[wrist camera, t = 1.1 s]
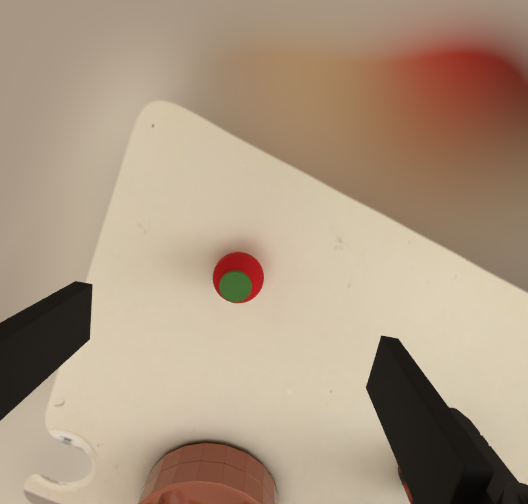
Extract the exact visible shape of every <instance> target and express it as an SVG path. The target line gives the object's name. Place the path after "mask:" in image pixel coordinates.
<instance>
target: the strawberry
mask: <svg viewBox="0 0 528 504" xmlns="http://www.w3.org/2000/svg"><path fill="white" fill-rule="evenodd" d="M263 281H264V274H263V270H262V267H261V265H260V264H259V262H258V261H257V260H256V259H255V258H254V257H252V256H251V255H249V254H246V253H242V252H235V253H231V254H228V255H226V256H225V257H223V258H222V259H221V260H220V261H219V262H218V263H217V265H216V267H215V269H214V272H213V283H214V287H215V289H216V291H217V292H218V294H219V295H220V296H221V297H222V298H224V299H225V300H227V301H229V302H233V303H244V302H247V301H249V300H251V299H253V298H254V297H255V296H256V295H257V294H258V293H259V292H260V290H261V288H262V285H263Z"/></svg>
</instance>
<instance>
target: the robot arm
mask: <svg viewBox="0 0 528 504" xmlns="http://www.w3.org/2000/svg"><path fill="white" fill-rule="evenodd" d="M91 304H92V284H88V283H82V282H77V281H75V282H73V283H71V284H70V285H68V286H66V287H64V288H62V289H60V290H59V291H57V292H55V293H53V294H51V295H50V296H48V297H46V298H44V299H42V300H41V301H39V302H37V303H35V304H33V305H32V306H30V307H28V308H26V309H25V310H22V311H21V312H19V313H17V314H16V315H14V316H12V317H10V318H8V319H6V320H5V321H3V322H1V323H0V420H1V419H3V418H4V417H5V416H6V415H7V414H8V413H9V412H10V411H11V410H13V409H14V408H15V407H16V406H17V405H18V404H19V403H20V402H21V401H22V400H23V399H25V398H26V397H27V396H28V395H29V394H30V393H31V392H32V391H33V390H34V389H36V388H37V387H38V386H39V385H40V384H41V383H42V382H43V381H44V380H45V379H47V378H48V377H49V376H50V375H51V374H52V373H53V372H54V371H55V370H57V369H58V368H59V367H60V366H61V365H62V364H63V363H64V362H65V361H66V360H68V359H69V358H70V357H71V356H72V355H73V354H74V353H75V352H76V351H77V350H79V349H80V348H81V347H82V346H83V345H84V344H85V343H86V342H87V341H88V340H90V324H91ZM366 389H367V391H368V394H369V396H370V399H371V401H372V403H373V406H374V408H375V410H376V413H377V415H378V418H379V420H380V422H381V425H382V427H383V430H384V432H385V434H386V437H387V439H388V441H389V444H390V446H391V449H392V451H393V453H394V456H395V458H396V460H397V463H398V465H399V468H400V470H401V472H402V475H403V477H404V479H405V482H406V484H407V487H408V489H409V491H410V494H411V496H412V499H413V501H414V503H415V504H528V485H526V484H523V483H519V482H518V481H517V479H516V478H515V477H514V476H513V474H512V473H511V472H510V470H509V469H508V468H507V467H506V465H505V464H504V463H503V461H502V460H501V459H500V458H499V456H498V455H497V454H496V453H495V451H494V450H493V449H492V447H491V446H489V445H488V442H487V441H486V440H485V439H484V437H483V436H482V435H480V432H479V431H478V430H477V428H476V427H475V426H474V424H473V423H472V422H471V421H470V420H469V419H468V418H467V417H466V416H464V415H463V414H462V413H461V412H460V411H458V410H457V409H455V408H450V407H448V406H447V404H446V403H445V402H444V400H443V399H442V398H441V396H440V395H439V394H438V392H437V391H436V390H435V388H434V387H433V385H432V384H431V383H430V381H429V380H428V379H427V377H426V376H425V375H424V373H423V372H422V370H421V369H420V368H419V366H418V365H417V364H416V362H415V361H414V360H413V358H412V357H411V356H410V354H409V353H408V351H407V350H406V349H405V347H404V346H403V345H402V343H401V342H400V341H399V339H397V338H392V337H386V336H381V339H380V342H379V346H378V349H377V352H376V356H375V359H374V362H373V366H372V369H371V373H370V376H369V379H368V383H367V386H366Z"/></svg>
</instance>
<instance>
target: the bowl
mask: <svg viewBox="0 0 528 504" xmlns="http://www.w3.org/2000/svg"><path fill="white" fill-rule="evenodd" d="M137 504H278V494H277V490H276V486H275V482H274V480H273V479H272V477H271V476H270V474H269V473H268V471H267V470H266V468H265V467H264V466H263V465H262V464H261V463H260V462H258V461H257V460H256V459H254V458H253V457H252V456H250V455H249V454H248V453H245V452H243V451H240V450H238V449H235V448H233V447H230V446H227V445H220V444H212V443H202V444H195V445H188V446H183V447H181V448H179V449H177V450H175V451H172V452H170V453H168V454H166V455H165V456H164V457H163V458H162V459H161V460H160V461H159V462H158V463H157V464H156V465H155V466H153V468H152V470H151V473H150V475H149V477H148V479H147V481H146V484H145V486H144V489H143V491H142V493H141V496H140V498H139V501H138V503H137Z"/></svg>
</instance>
